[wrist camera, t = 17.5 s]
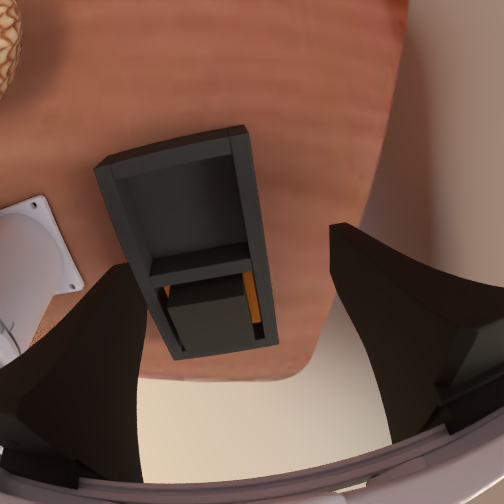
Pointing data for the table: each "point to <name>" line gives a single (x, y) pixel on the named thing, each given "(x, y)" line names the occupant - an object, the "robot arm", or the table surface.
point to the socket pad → (191, 223)
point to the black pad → (212, 314)
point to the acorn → (9, 42)
